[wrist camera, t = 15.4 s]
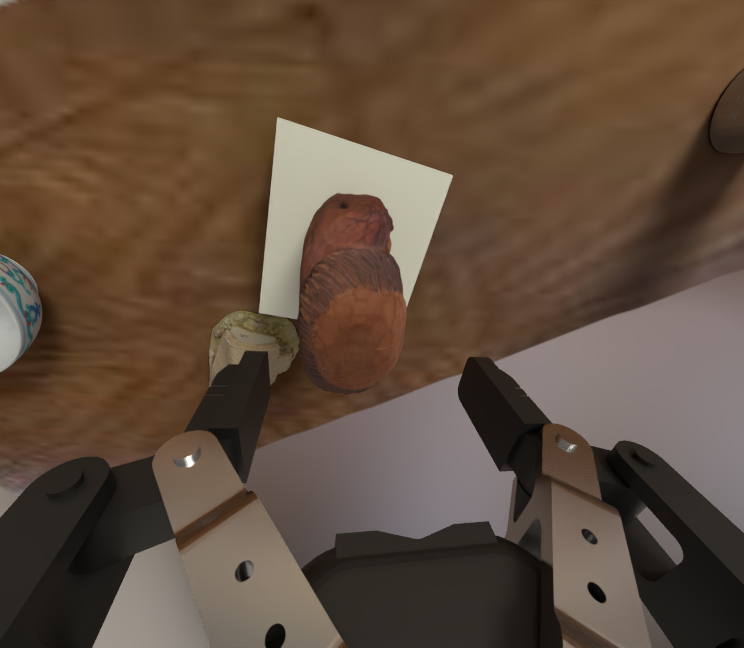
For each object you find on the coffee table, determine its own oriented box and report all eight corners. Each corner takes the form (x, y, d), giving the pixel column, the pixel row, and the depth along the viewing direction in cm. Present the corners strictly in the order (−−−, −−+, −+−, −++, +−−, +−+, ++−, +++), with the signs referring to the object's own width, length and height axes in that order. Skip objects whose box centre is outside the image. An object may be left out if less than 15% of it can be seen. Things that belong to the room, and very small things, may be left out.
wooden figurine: (370, 305, 32) (408, 435, 16) (312, 303, 31) (292, 440, 15) (382, 190, 26) (457, 216, 11) (312, 183, 25) (281, 200, 10)
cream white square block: (432, 174, 32) (453, 175, 26) (387, 314, 39) (396, 336, 34) (287, 127, 28) (277, 117, 23) (269, 292, 36) (258, 312, 30)
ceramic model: (222, 294, 35) (186, 336, 26) (309, 323, 38) (303, 368, 29) (200, 378, 40) (165, 436, 31) (278, 397, 44) (266, 454, 35)
